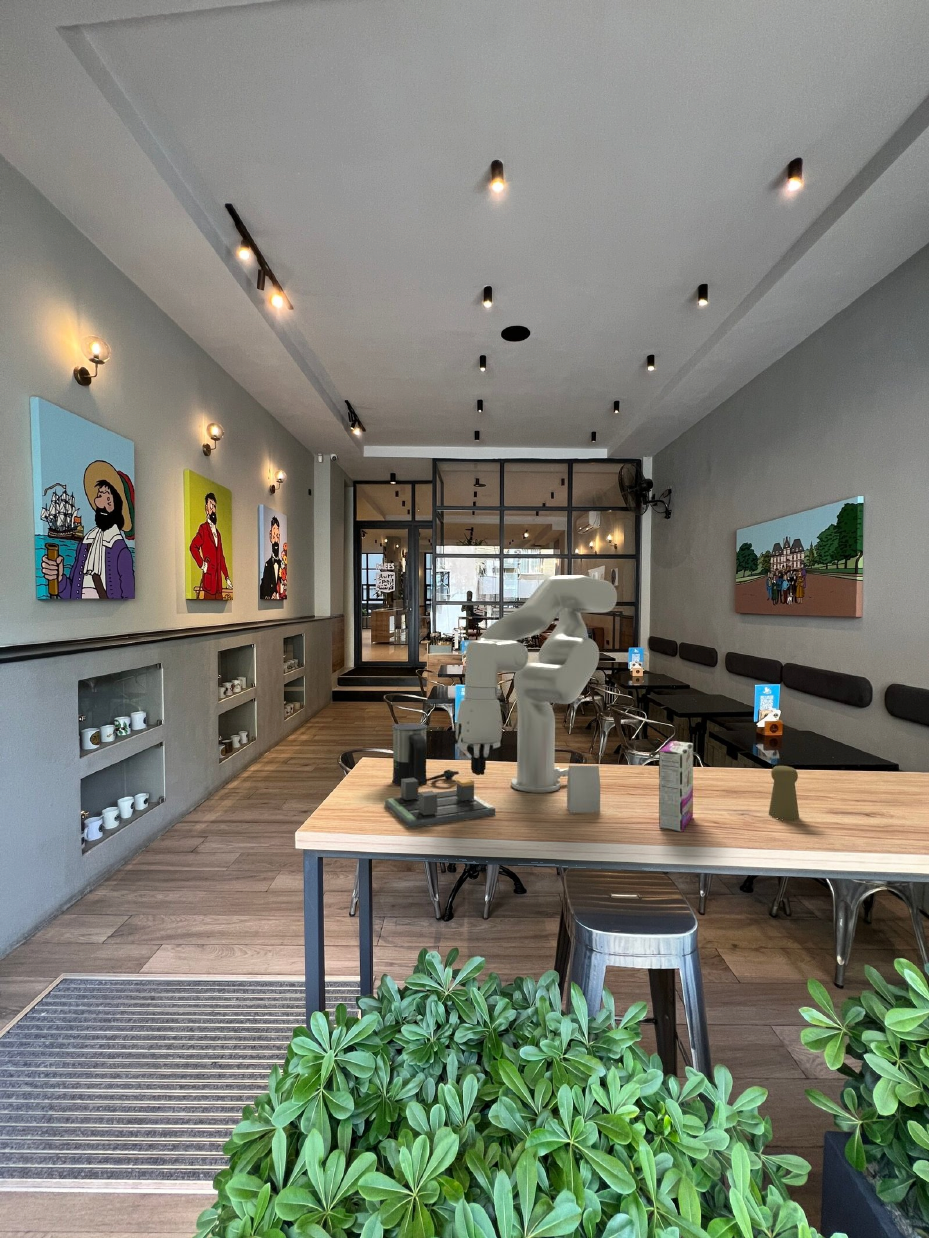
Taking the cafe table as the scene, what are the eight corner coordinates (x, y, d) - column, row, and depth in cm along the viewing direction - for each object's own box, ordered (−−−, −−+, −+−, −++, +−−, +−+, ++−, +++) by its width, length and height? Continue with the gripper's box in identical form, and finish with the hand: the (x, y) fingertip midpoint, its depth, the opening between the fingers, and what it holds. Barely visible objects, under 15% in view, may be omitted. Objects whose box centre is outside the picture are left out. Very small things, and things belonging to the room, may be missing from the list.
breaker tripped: (468, 795, 140) (468, 778, 140) (474, 798, 138) (474, 781, 138) (456, 796, 139) (456, 779, 139) (462, 800, 136) (462, 782, 136)
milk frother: (384, 781, 158) (385, 725, 158) (431, 771, 169) (432, 718, 168) (417, 794, 147) (418, 733, 147) (465, 782, 158) (466, 726, 158)
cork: (787, 822, 130) (788, 771, 130) (762, 814, 135) (763, 765, 135) (805, 818, 132) (806, 768, 132) (779, 810, 138) (780, 762, 138)
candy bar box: (670, 813, 135) (671, 740, 135) (693, 817, 133) (694, 742, 132) (657, 828, 126) (658, 749, 125) (682, 833, 123) (683, 752, 123)
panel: (463, 794, 147) (463, 787, 147) (495, 815, 133) (495, 807, 133) (385, 805, 138) (385, 798, 138) (409, 828, 124) (409, 820, 124)
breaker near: (431, 808, 130) (431, 790, 130) (437, 813, 128) (437, 794, 128) (418, 810, 129) (418, 792, 129) (424, 815, 126) (424, 796, 126)
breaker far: (413, 794, 140) (413, 777, 140) (418, 798, 138) (418, 780, 138) (401, 796, 139) (401, 779, 139) (405, 800, 136) (405, 782, 136)
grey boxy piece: (600, 812, 135) (600, 768, 135) (570, 812, 135) (570, 768, 135) (596, 807, 139) (596, 763, 139) (566, 807, 139) (567, 763, 139)
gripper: (501, 691, 146) (498, 767, 146) (444, 692, 140) (441, 772, 139) (517, 695, 139) (514, 775, 139) (458, 696, 133) (455, 780, 133)
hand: (478, 773), depth 139 cm, fingers closed
